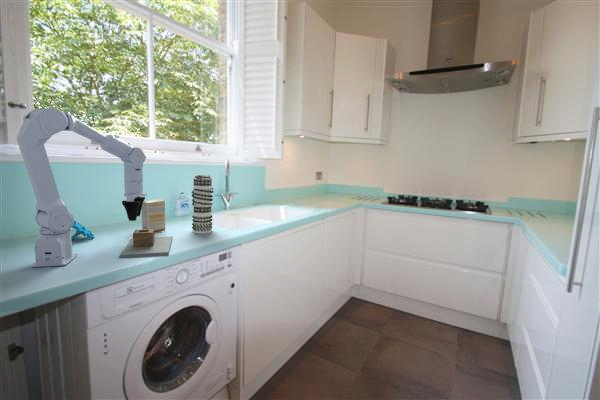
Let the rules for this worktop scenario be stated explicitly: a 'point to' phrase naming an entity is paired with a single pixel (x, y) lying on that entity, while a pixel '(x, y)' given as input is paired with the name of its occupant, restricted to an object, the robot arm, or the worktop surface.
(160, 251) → the hub board
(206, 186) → the decorative candle
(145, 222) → the supplement box
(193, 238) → the worktop surface
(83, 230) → the gear
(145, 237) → the collar
